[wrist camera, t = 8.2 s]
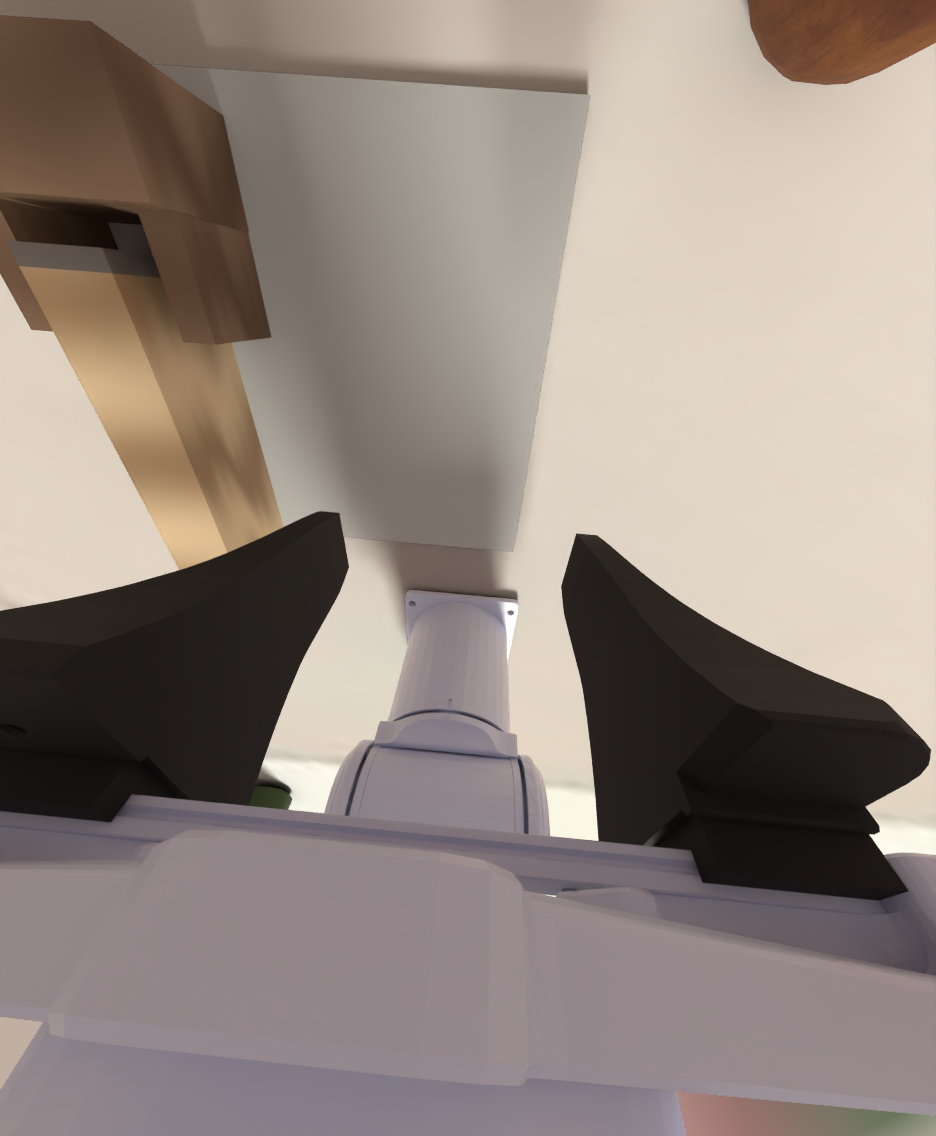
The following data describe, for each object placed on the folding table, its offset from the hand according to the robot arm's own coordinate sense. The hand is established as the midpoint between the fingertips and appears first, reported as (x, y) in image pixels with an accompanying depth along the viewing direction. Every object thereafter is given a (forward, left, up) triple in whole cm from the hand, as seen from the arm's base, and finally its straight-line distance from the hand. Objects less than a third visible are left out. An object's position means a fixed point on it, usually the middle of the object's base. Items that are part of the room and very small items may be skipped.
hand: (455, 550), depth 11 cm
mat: (+3, +8, -10) cm, 13 cm away
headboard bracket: (+7, +13, -10) cm, 18 cm away
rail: (0, +13, -10) cm, 16 cm away
